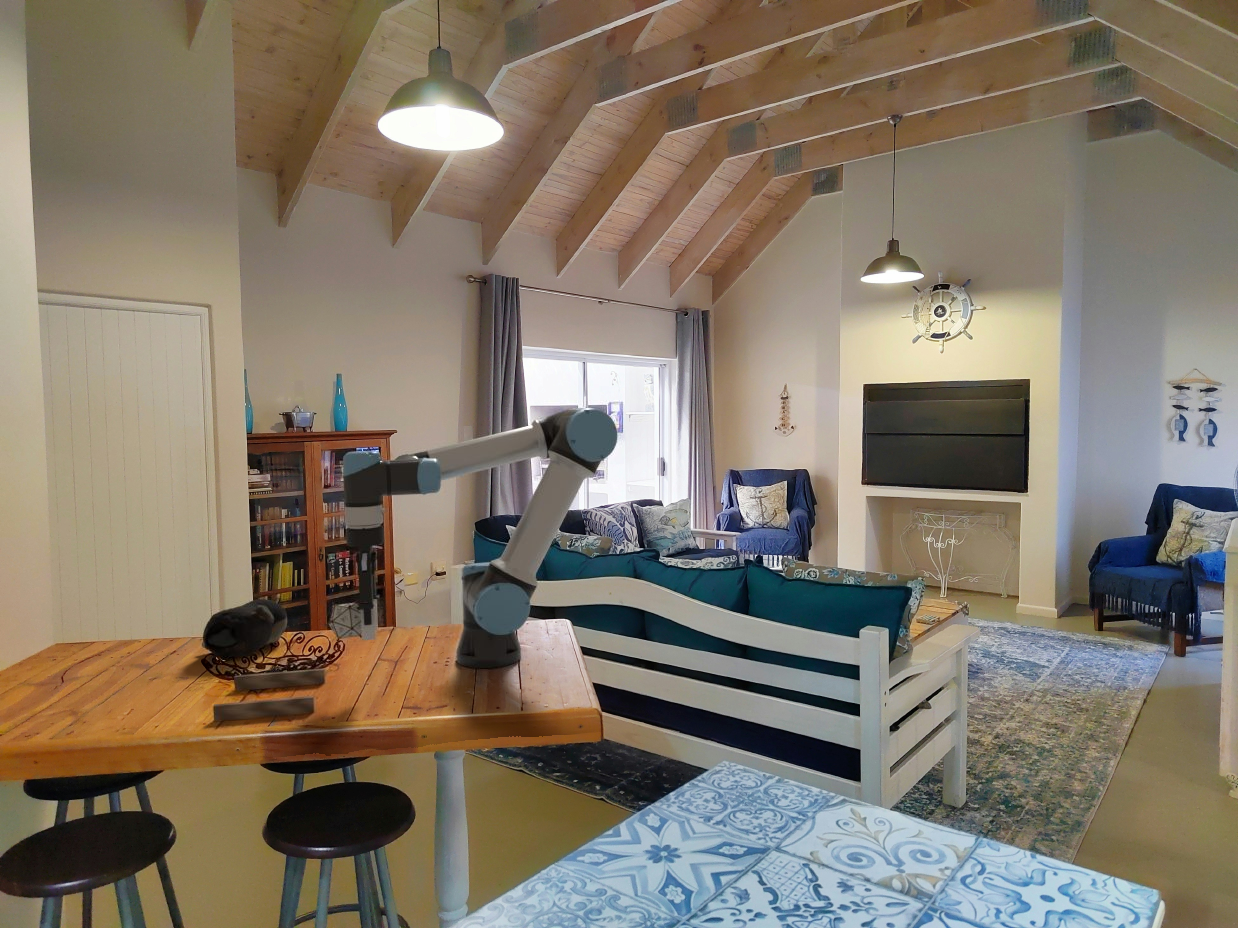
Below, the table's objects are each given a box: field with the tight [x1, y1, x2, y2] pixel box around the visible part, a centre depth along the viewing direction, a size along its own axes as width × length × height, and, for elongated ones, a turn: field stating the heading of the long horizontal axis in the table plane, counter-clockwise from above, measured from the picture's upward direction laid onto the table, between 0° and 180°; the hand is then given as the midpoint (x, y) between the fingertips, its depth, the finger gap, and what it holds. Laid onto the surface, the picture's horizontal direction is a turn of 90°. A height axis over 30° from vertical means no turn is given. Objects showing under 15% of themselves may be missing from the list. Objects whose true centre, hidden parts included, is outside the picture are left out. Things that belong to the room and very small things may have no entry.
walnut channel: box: [212, 668, 326, 723], centre depth 162 cm, size 18×18×3 cm
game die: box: [324, 598, 362, 643], centre depth 164 cm, size 9×8×10 cm
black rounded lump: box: [201, 598, 288, 661], centre depth 197 cm, size 20×21×13 cm
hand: (370, 634), depth 166 cm, fingers closed on game die, 6 cm apart
